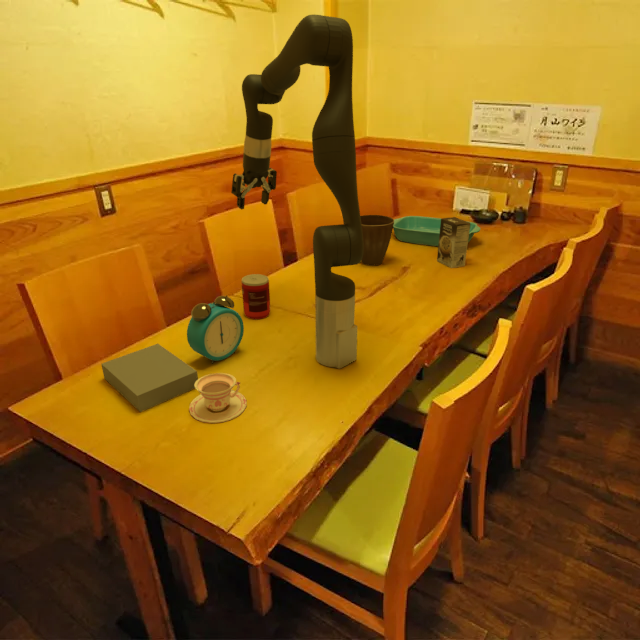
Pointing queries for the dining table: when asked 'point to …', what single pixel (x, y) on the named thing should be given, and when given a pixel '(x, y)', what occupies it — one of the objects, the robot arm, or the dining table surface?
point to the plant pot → (375, 237)
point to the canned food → (256, 296)
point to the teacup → (217, 398)
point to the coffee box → (453, 242)
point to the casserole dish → (423, 230)
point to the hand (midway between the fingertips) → (252, 205)
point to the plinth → (149, 376)
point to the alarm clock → (215, 329)
